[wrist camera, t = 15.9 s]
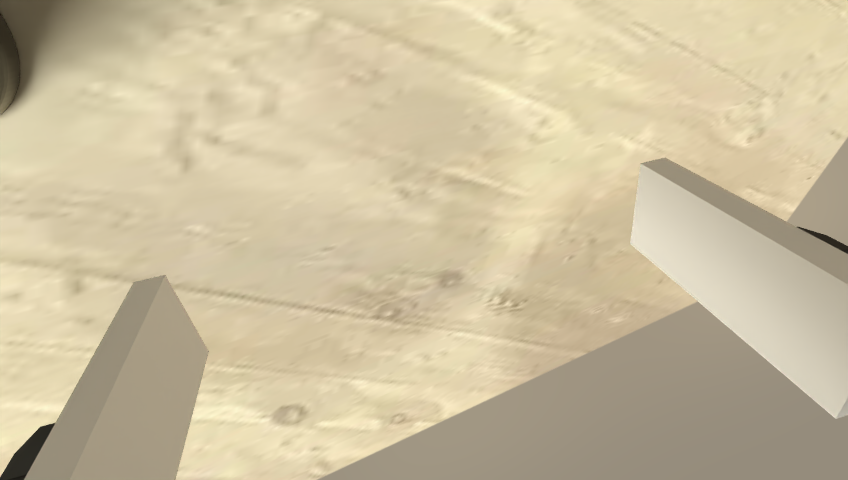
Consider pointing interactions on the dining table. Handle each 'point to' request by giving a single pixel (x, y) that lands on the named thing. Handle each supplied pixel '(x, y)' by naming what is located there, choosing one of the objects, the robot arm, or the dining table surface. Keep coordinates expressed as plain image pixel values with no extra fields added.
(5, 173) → the dining table surface
